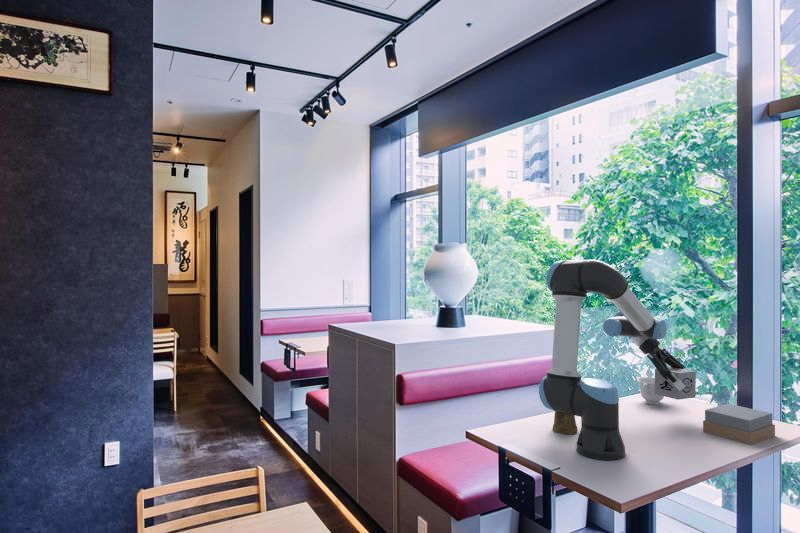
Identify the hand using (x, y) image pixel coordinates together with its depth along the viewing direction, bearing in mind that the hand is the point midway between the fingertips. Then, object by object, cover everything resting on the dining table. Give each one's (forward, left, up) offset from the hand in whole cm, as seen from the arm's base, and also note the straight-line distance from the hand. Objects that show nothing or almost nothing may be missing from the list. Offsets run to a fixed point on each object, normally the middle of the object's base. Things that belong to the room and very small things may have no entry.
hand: (688, 386), depth 194 cm
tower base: (0, -16, -15) cm, 22 cm away
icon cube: (+1, +5, -5) cm, 7 cm away
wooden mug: (-33, +33, -15) cm, 49 cm away
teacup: (+22, +20, -15) cm, 33 cm away
